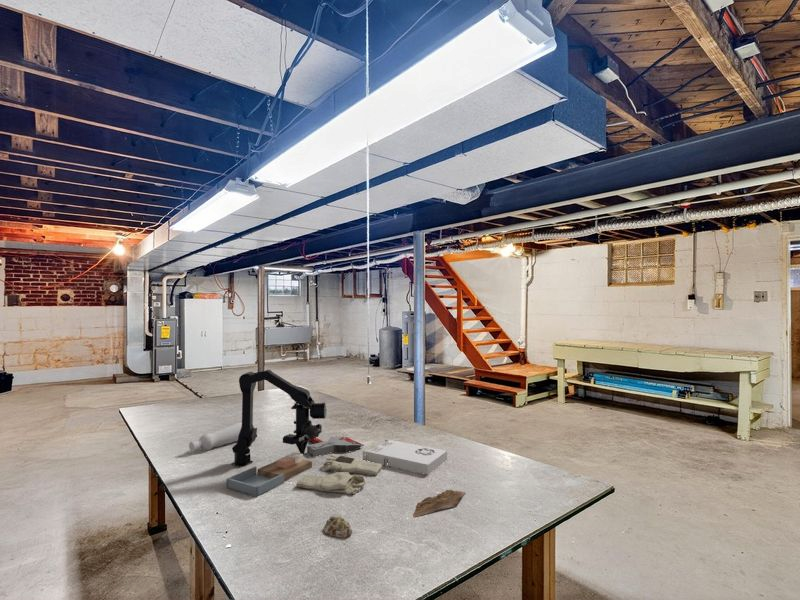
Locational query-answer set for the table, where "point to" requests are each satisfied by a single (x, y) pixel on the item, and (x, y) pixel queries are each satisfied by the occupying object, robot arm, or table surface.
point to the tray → (253, 482)
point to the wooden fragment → (438, 502)
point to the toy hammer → (332, 445)
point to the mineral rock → (337, 527)
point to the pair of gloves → (341, 475)
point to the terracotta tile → (285, 462)
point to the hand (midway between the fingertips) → (302, 454)
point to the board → (284, 469)
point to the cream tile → (296, 457)
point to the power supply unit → (406, 456)
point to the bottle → (217, 438)
